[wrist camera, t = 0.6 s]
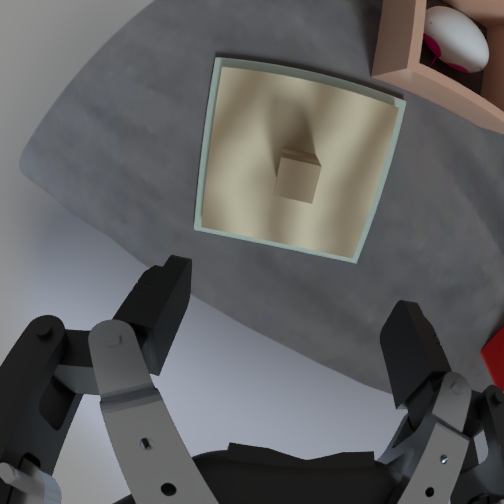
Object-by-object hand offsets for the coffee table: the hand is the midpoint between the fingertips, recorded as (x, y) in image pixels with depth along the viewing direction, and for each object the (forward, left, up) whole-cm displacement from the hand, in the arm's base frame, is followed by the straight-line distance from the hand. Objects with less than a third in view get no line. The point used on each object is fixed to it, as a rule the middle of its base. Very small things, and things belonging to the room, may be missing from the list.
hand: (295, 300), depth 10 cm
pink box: (-12, -18, -19) cm, 29 cm away
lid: (0, -1, -19) cm, 19 cm away
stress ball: (-12, -18, -19) cm, 29 cm away
